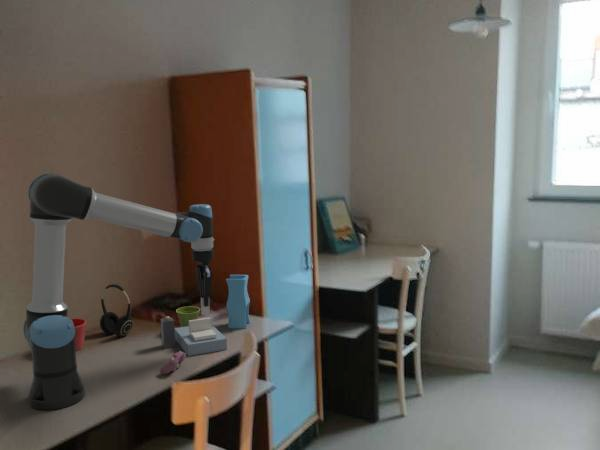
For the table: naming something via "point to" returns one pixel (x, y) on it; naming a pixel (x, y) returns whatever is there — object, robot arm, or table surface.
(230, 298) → the vase
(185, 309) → the plant pot
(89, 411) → the table surface
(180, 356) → the pink oblong lump
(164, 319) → the plug
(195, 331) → the cream stepped block
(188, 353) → the socket
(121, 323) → the headphones
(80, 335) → the flower pot
